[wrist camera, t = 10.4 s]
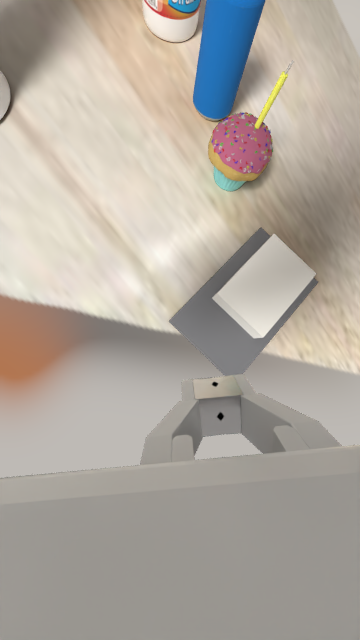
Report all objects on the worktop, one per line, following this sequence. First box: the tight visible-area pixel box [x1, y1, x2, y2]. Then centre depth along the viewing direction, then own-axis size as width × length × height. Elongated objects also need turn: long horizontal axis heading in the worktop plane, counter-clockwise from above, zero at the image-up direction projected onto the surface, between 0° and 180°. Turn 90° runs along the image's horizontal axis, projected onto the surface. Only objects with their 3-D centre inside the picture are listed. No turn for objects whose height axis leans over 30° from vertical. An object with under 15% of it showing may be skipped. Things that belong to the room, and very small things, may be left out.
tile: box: [212, 234, 316, 338], centre depth 25 cm, size 2×8×12 cm
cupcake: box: [208, 61, 294, 191], centre depth 23 cm, size 9×8×12 cm
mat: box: [169, 228, 318, 376], centre depth 26 cm, size 20×12×1 cm, turn 137°
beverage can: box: [193, 0, 265, 121], centre depth 25 cm, size 6×6×12 cm
